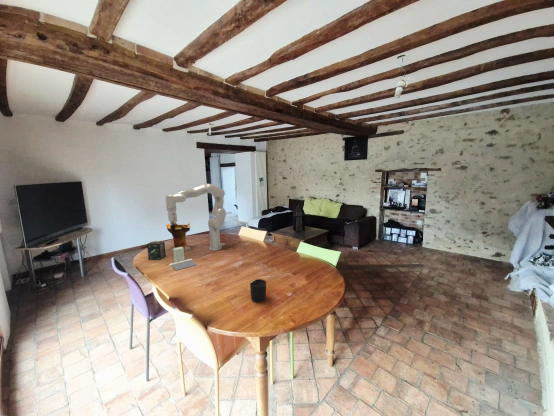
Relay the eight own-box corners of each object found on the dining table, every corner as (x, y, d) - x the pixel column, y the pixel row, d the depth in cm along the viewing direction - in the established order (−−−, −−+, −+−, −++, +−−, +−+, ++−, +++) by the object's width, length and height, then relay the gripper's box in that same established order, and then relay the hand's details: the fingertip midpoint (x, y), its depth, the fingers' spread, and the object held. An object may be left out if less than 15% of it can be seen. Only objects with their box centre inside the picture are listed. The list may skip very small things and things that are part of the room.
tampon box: (166, 256, 206) (164, 240, 204) (160, 260, 197) (158, 243, 195) (155, 255, 207) (153, 240, 205) (148, 259, 198) (146, 243, 196)
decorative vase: (188, 252, 214) (185, 223, 210) (164, 253, 214) (160, 225, 210) (196, 245, 234) (193, 219, 230) (175, 246, 235) (171, 220, 231)
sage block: (182, 259, 196) (181, 246, 195) (184, 261, 193) (183, 248, 191) (174, 262, 192) (173, 248, 190) (176, 263, 188) (174, 249, 186)
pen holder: (267, 301, 130) (267, 285, 129) (251, 304, 128) (250, 287, 127) (265, 293, 139) (264, 278, 138) (249, 295, 137) (249, 280, 136)
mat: (191, 261, 193) (191, 260, 193) (196, 265, 184) (196, 264, 184) (171, 266, 183) (171, 265, 183) (176, 270, 174) (175, 270, 174)
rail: (191, 260, 195) (191, 258, 195) (192, 260, 194) (192, 259, 194) (169, 265, 184) (169, 264, 184) (170, 266, 182) (170, 264, 182)
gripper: (178, 209, 190) (180, 230, 193) (173, 207, 201) (175, 227, 204) (169, 210, 185) (171, 232, 188) (164, 208, 196) (166, 228, 199)
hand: (173, 229), depth 196 cm, fingers closed
